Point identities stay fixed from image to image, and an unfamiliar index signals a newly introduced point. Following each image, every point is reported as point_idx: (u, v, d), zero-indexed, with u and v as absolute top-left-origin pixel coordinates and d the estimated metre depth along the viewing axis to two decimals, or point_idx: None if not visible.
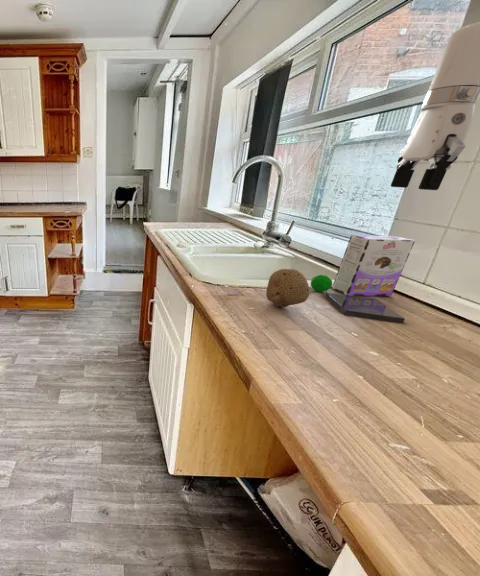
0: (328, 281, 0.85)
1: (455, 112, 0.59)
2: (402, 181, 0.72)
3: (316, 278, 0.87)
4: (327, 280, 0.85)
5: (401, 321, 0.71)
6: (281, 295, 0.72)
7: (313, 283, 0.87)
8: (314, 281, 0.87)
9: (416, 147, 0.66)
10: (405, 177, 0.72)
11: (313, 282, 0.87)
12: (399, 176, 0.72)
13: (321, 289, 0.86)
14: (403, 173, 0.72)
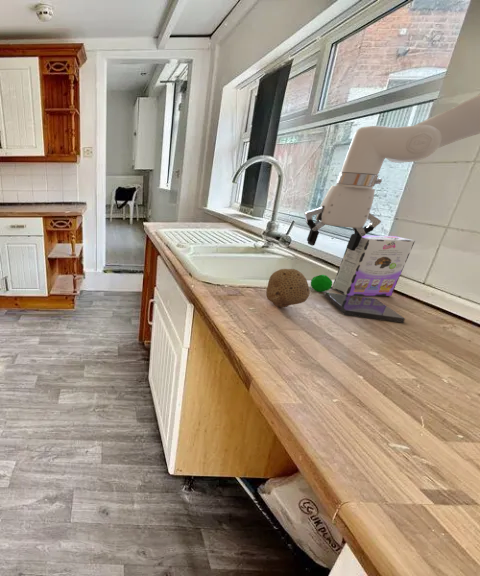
0: (328, 281, 0.85)
1: None
2: None
3: (316, 278, 0.87)
4: (327, 280, 0.85)
5: (401, 321, 0.71)
6: (281, 295, 0.72)
7: (313, 283, 0.87)
8: (314, 281, 0.87)
9: (346, 217, 0.79)
10: None
11: (313, 282, 0.87)
12: None
13: (321, 289, 0.86)
14: None
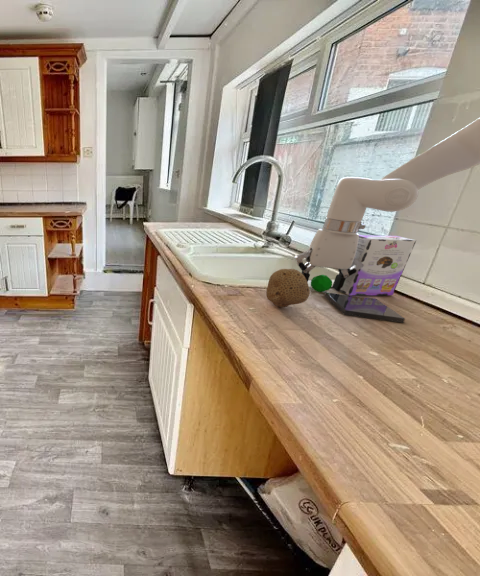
0: (328, 281, 0.85)
1: None
2: None
3: (316, 278, 0.87)
4: (327, 280, 0.85)
5: (401, 321, 0.71)
6: (281, 295, 0.72)
7: (313, 283, 0.87)
8: (314, 281, 0.87)
9: (333, 260, 0.83)
10: None
11: (313, 282, 0.87)
12: None
13: (321, 289, 0.86)
14: None
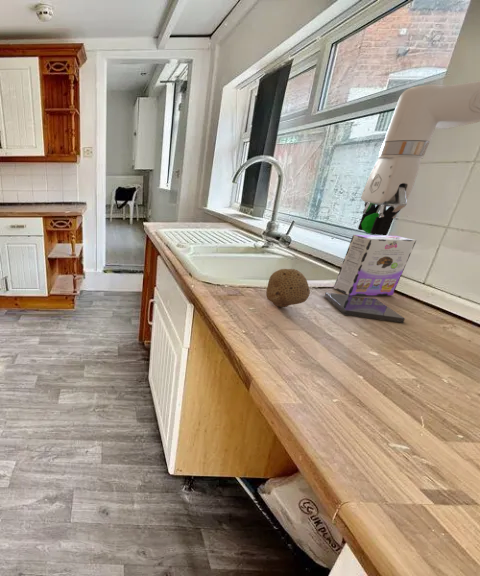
0: None
1: None
2: None
3: None
4: None
5: (401, 321, 0.71)
6: (281, 295, 0.72)
7: None
8: None
9: None
10: None
11: None
12: None
13: None
14: None
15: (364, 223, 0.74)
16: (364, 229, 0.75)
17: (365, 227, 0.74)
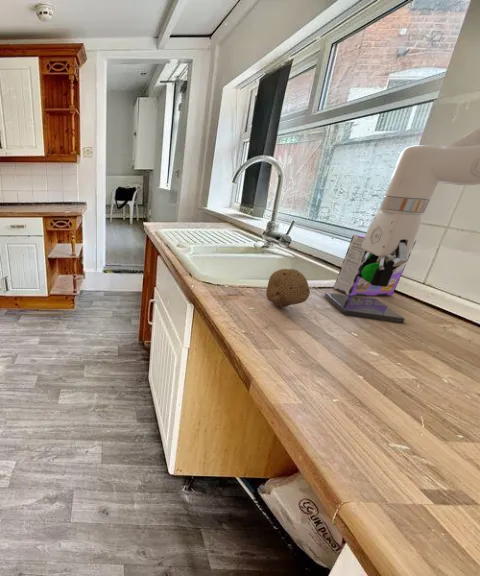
0: None
1: None
2: None
3: None
4: None
5: (401, 321, 0.71)
6: (281, 295, 0.72)
7: None
8: None
9: None
10: None
11: None
12: None
13: None
14: None
15: (364, 272, 0.75)
16: (364, 279, 0.75)
17: (365, 277, 0.75)
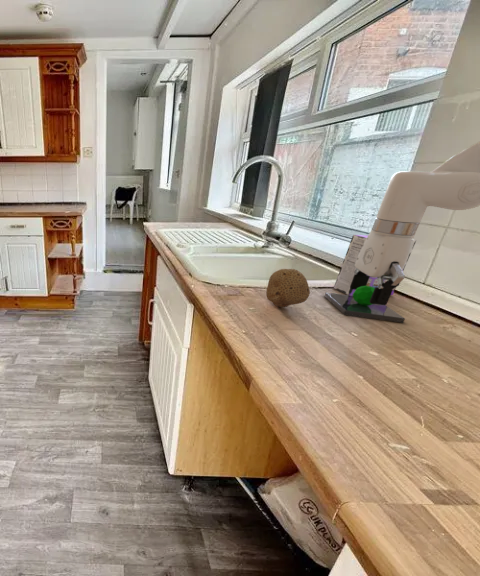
0: None
1: None
2: None
3: None
4: None
5: (401, 321, 0.71)
6: (281, 295, 0.72)
7: None
8: None
9: None
10: None
11: None
12: None
13: None
14: None
15: (356, 295, 0.77)
16: (356, 301, 0.78)
17: (356, 299, 0.77)
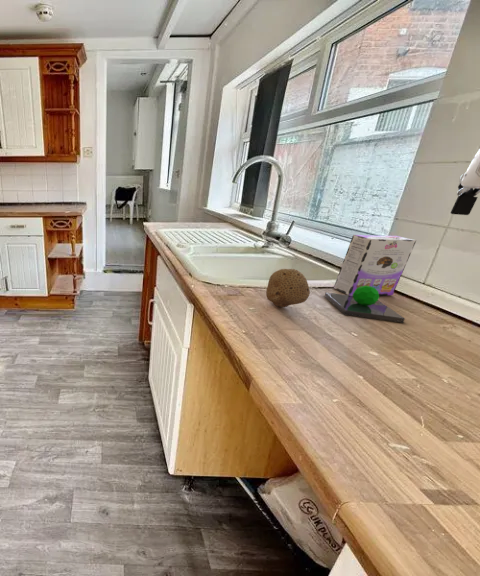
0: None
1: None
2: None
3: (375, 293, 0.74)
4: None
5: (401, 321, 0.71)
6: (281, 295, 0.72)
7: (374, 299, 0.75)
8: (375, 296, 0.74)
9: None
10: None
11: (374, 298, 0.75)
12: None
13: None
14: None
15: (356, 295, 0.77)
16: (356, 301, 0.78)
17: (356, 299, 0.77)
